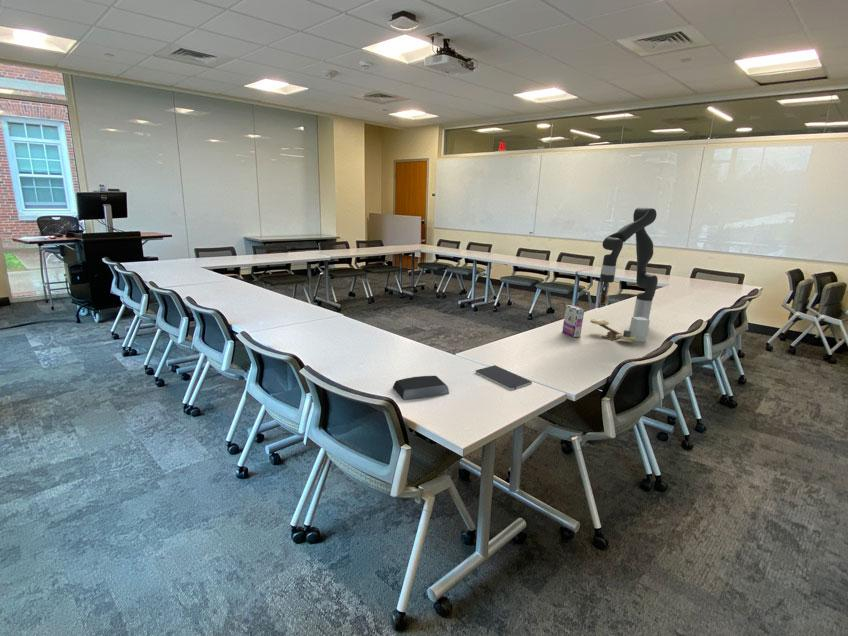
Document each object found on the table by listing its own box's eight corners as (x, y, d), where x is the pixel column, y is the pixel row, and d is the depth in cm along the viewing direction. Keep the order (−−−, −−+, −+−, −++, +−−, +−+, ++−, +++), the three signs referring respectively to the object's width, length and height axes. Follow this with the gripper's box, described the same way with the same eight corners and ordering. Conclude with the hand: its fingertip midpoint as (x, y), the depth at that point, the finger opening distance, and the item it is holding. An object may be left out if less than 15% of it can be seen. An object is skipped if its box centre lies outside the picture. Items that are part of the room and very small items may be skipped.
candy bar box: (580, 337, 256) (585, 309, 252) (573, 337, 254) (577, 309, 250) (569, 331, 266) (573, 304, 262) (561, 331, 265) (565, 304, 260)
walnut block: (598, 301, 263) (600, 293, 262) (607, 302, 261) (609, 294, 260) (597, 303, 259) (599, 294, 258) (607, 304, 257) (608, 296, 255)
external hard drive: (450, 395, 175) (450, 385, 174) (403, 402, 167) (404, 392, 166) (436, 382, 186) (436, 373, 185) (391, 388, 179) (392, 378, 178)
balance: (585, 332, 266) (587, 320, 264) (595, 330, 272) (597, 318, 270) (628, 346, 245) (631, 333, 243) (638, 343, 250) (641, 330, 248)
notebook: (531, 384, 189) (494, 368, 205) (531, 381, 188) (494, 365, 205) (511, 391, 181) (474, 373, 197) (511, 388, 181) (474, 370, 197)
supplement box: (646, 342, 254) (650, 320, 251) (633, 341, 254) (637, 319, 251) (640, 337, 261) (644, 317, 258) (627, 337, 261) (631, 316, 258)
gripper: (602, 270, 263) (597, 299, 268) (599, 274, 251) (594, 303, 255) (616, 272, 260) (611, 301, 264) (613, 275, 247) (608, 305, 252)
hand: (603, 302), depth 260 cm, fingers closed on walnut block, 5 cm apart
